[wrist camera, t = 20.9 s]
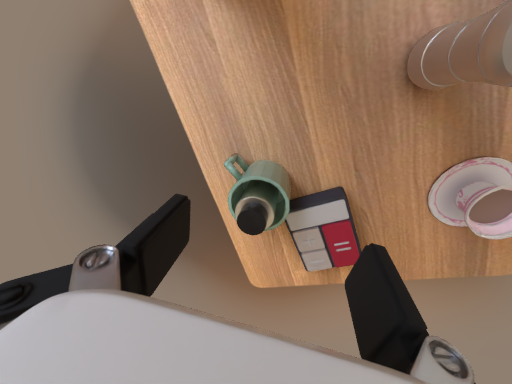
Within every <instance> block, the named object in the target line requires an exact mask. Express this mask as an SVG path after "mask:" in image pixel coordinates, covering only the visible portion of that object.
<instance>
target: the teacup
mask: <svg viewBox="0 0 512 384" xmlns="http://www.w3.org/2000/svg"><path fill="white" fill-rule="evenodd" d="M428 206H429V209H430V211H431V214H433V215H434V216H435V217H436V218H437V219H438V220H439V221H441V222H443V223H445V224H448V225H450V226H459V227H469V228H470V230H471V231H472V232H473V233H475V234H476V235H478V236H480V237H483V238H487V239H504V238H509V237H512V162H509V161H507V160H505V159H502V158H495V157H481V158H475V159H470V160H467V161H465V162H462V163H460V164H457V165H455V166H453V167H452V168H450V169H449V170H448V171H446V172H445V173H443V174H442V175H441V176H440V177H439V178H438V179H437V181H436V182H435V183H434V184H433V186H432V188H431V190H430V192H429V195H428Z"/></svg>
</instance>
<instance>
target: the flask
mask: <svg viewBox="0 0 512 384" xmlns="http://www.w3.org/2000/svg"><path fill="white" fill-rule="evenodd" d="M278 196H279V189H278V188H277V187H276V186H274V185H272V184H271V183H269V182H266V181H263V180H250V182H249V184H248V186H247V188H246V189H245V191H244V193H243V195H242V197H241V199H240V200H239V202H238V204H237V206H236V209H235V215H236V218H237V224H238V227H239V228H240V229H241V230H242V231H243V232H244V233H246V234H249V235H258V234H260V233H262V232H263V231H264V230H265V229H267V228H268V227H269V226H270V225H271V224H272V223H273V220H274V216H275V211H276V206H277V201H278Z"/></svg>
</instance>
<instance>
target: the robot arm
mask: <svg viewBox="0 0 512 384" xmlns="http://www.w3.org/2000/svg"><path fill="white" fill-rule="evenodd" d="M189 231H190V200H189V199H188V197H187V196H184V195H180V194H175V195H174V196H173V197H172V198H170V199H169V200H168V201H167V202H166V203H165V204H164V205H163V206H162V207H160V208H159V209H158V210H157V211H156V212H155V213H153V214H151V215H150V216H149V217H148V218H147V219H145V220H144V221H143V222H142V223H141V224H140V225H139V226H138V227H136V228H135V229H134V230H133V231H132V232H131V233H130V234H129V235H127V236H126V237H125V238H124V239H123V240H122V241H121V242H120V243H118V244H117V245H116V246H115V247H114V246H112V245H105V244H104V245H97V246H94V247H91V248H88V249H86V250H84V251H83V252H81V253H80V254H79V255H78V256H77V257H76V258H75V261H74V263H73V264H70V265H66V266H63V267H59V268H55V269H51V270H48V271H44V272H41V273H37V274H32V275H29V276H25V277H21V278H18V279H14V280H11V281H7V282H5V283H2V284H0V384H475V383H474V373H473V370H472V368H471V366H470V364H469V363H468V361H467V360H466V358H465V357H464V356H463V355H462V354H461V353H460V352H459V351H458V350H457V349H456V348H455V347H454V346H453V345H451V344H450V343H448V342H447V341H445V340H444V339H441V338H439V337H437V336H429V334H428V332H427V330H426V329H427V326H426V324H425V322H424V321H423V319H422V317H421V315H420V313H419V311H418V309H417V307H416V305H415V304H414V302H413V300H412V298H411V296H410V294H409V292H408V290H407V288H406V286H405V284H404V283H403V281H402V279H401V277H400V275H399V273H398V271H397V269H396V267H395V265H394V264H393V262H392V260H391V258H390V256H389V254H388V252H387V250H386V248H385V247H384V246H381V245H377V244H373V243H371V244H369V245H366V246H365V247H364V249H363V251H362V252H361V254H360V256H359V258H358V259H357V261H356V263H355V265H354V266H353V268H352V270H351V271H350V273H349V275H348V277H347V278H346V280H345V290H346V294H347V298H348V303H349V307H350V312H351V316H352V321H353V325H354V329H355V334H356V338H357V343H358V347H359V351H360V355H361V358H362V359H360V358H357V357H353V356H350V355H347V354H344V353H341V352H337V351H334V350H331V349H327V348H324V347H321V346H317V345H314V344H311V343H307V342H304V341H301V340H297V339H294V338H290V337H287V336H284V335H281V334H277V333H274V332H270V331H267V330H263V329H260V328H257V327H253V326H250V325H246V324H243V323H240V322H236V321H233V320H230V319H226V318H223V317H219V316H216V315H212V314H209V313H205V312H202V311H198V310H195V309H192V308H188V307H184V306H181V305H177V304H174V303H170V302H167V301H163V300H159V299H155V298H151V297H150V296H151V295H152V294H153V293H154V291H155V290H156V288H157V287H158V285H159V284H160V282H161V281H162V280H163V278H164V277H165V275H166V274H167V272H168V271H169V269H170V268H171V267H172V265H173V264H174V262H175V261H176V259H177V258H178V256H179V255H180V254H181V252H182V251H183V249H184V248H185V246H186V245H187V243H188V241H189Z"/></svg>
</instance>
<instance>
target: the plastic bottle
mask: <svg viewBox="0 0 512 384" xmlns="http://www.w3.org/2000/svg"><path fill="white" fill-rule="evenodd" d="M407 73H408V76H409V78H410V80H411V81H412V82H413V83H414V84H415V85H417V86H419V87H421V88H424V89H428V90H436V89H441V88H445V87H449V86H452V85H454V84H459V83H465V82H478V83H488V84H494V85H499V86H506V87H512V0H507V1H506V2H504V3H502V4H501V5H499V6H498V7H496V8H495V9H493V10H491V11H489V12H487V13H485V14H483V15H481V16H479V17H477V18H474V19H471V20H468V21H464V22H457V23H451V24H446V25H443V26H440V27H437V28H436V29H434V30H432V31H430V32H429V33H428V34H427V35H425V36H424V37H423V38H422V39H421V40H420V41H419V42H418V43H417V44H416V45H415V47H414V48H413V49H412V51H411V53H410V55H409V58H408V62H407Z"/></svg>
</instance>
